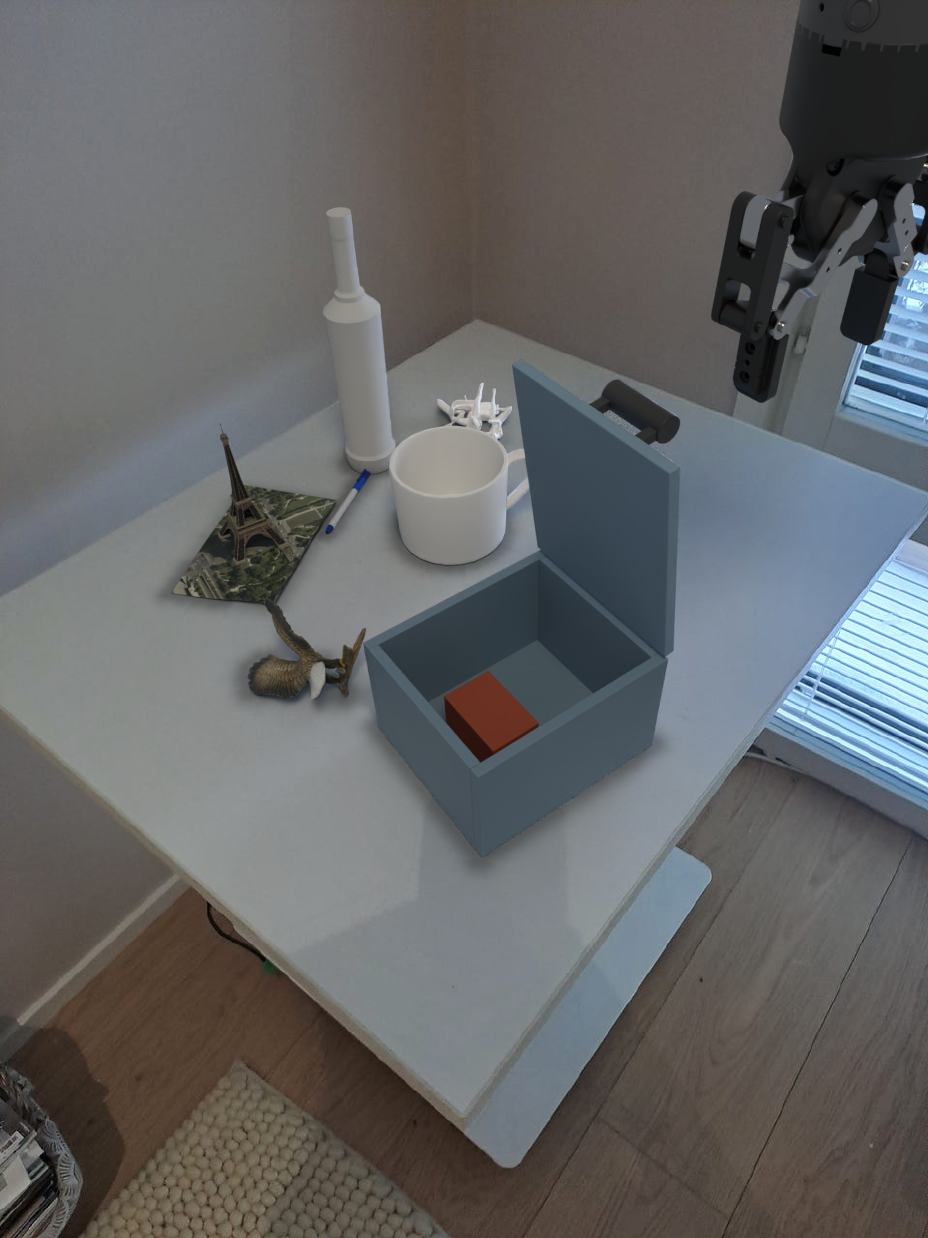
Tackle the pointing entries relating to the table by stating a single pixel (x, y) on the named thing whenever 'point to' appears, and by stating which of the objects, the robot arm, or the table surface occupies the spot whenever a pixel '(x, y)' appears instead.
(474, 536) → the mug
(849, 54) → the robot arm
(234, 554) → the eiffel tower figurine
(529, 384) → the box lid
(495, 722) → the terracotta brick block
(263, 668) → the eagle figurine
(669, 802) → the table surface
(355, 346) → the bottle
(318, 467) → the table surface
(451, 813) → the blue-grey box
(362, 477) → the ballpoint pen
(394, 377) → the table surface
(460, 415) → the figurine
